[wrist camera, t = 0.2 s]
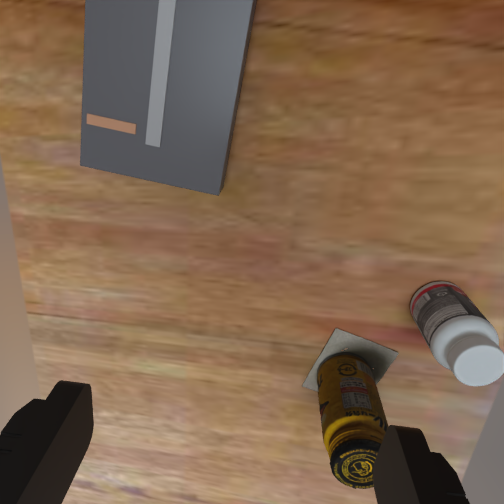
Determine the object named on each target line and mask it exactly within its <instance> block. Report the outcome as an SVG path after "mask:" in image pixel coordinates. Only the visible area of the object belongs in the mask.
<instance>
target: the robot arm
mask: <svg viewBox="0 0 504 504" xmlns="http://www.w3.org/2000/svg"><path fill="white" fill-rule="evenodd" d="M93 426H94V422H93V407H92V392H91V386H90V384H85V383H78V382H70V381H63V380H61V381H59V382H58V383H57V384H56V385H55V387H54V388H53V390H52V391H51V393H50V394H49V396H48V397H47V399H46V400H42V399H33V400H32V401H30V402H29V403H28V404H26V405H25V406H24V407H22V408H21V409H20V410H18V411H17V412H16V413H15V414H14V415H13V416H12V418H11V419H10V420H9V422H8V423H7V425H6V426H5V427H4V429H3V430H2V431H1V435H0V504H62V502H63V499H64V497H65V495H66V493H67V491H68V489H69V487H70V485H71V483H72V481H73V478H74V476H75V474H76V472H77V470H78V468H79V466H80V464H81V462H82V460H83V458H84V455H85V453H86V451H87V449H88V447H89V444H90V441H91V438H92V433H93ZM373 483H374V489H375V494H376V498H377V503H378V504H470V503H469V501H468V499H466V497H465V495H466V494H465V492H464V490H463V487H462V485H461V482H460V480H459V478H458V475H457V473H456V472H455V470H454V469H453V468H452V467H451V466H450V464H449V463H448V462H447V461H446V459H445V458H444V457H443V456H442V455H441V453H435V452H430V450H429V447H428V444H427V442H426V439H425V437H424V434H423V433H422V431H421V430H420V429H418V428H410V427H403V426H395V425H390V426H389V427H388V428H387V431H386V433H385V436H384V438H383V441H382V444H381V446H380V449H379V451H378V454H377V457H376V459H375V462H374V467H373Z"/></svg>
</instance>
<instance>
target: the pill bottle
mask: <svg viewBox="0 0 504 504" xmlns="http://www.w3.org/2000/svg"><path fill="white" fill-rule="evenodd" d="M410 311H411V314H412V317H413V319H414V320H415V322H416V324H417V326H418V328H419V330H420V332H421V334H422V335H423V337H424V339H425V341H426V343H427V345H428V346H429V348H430V350H431V352H432V354H433V356H434V357H435V359H436V360H437V361H438V363H440V364H441V365H442V366H444V367H445V368H447V369H450V370H451V371H452V372H453V373H454V375H455V376H456V378H457V379H458V380H459V381H460V382H462V383H464V384H466V385H470V386H483V385H487V384H490V383H492V382H494V381H495V380H497V379H498V378H499V377H500V376H501V375H502V374H503V373H504V353H503V352H502V350H501V349H500V347H499V339H498V335H497V332H496V330H495V329H494V327H493V326H492V325H491V324H490V322H489V321H488V320H487V319H486V318H485V317H484V316H483V314H482V313H481V312H480V311H479V310H478V308H477V307H476V306H475V305H474V304H473V302H472V301H471V300H470V299H469V298H468V296H467V295H466V294H465V293H464V292H463V291H462V290H461V289H460V288H459V287H458V286H456V285H455V284H452V283H449V282H444V281H440V282H432V283H429V284H427V285H425V286H423V287H422V288H420V289H419V290H418V291H417V292H416V293H415V295H414V296H413V298H412V300H411V304H410Z"/></svg>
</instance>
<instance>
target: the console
mask: <svg viewBox="0 0 504 504" xmlns="http://www.w3.org/2000/svg"><path fill="white" fill-rule="evenodd" d="M256 2H257V0H86V2H85V33H84V64H83V95H82V125H81V156H80V166H85V167H89V168H94V169H99V170H103V171H108V172H112V173H117V174H121V175H126V176H131V177H135V178H140V179H144V180H149V181H154V182H158V183H163V184H167V185H172V186H177V187H181V188H186V189H190V190H195V191H199V192H204V193H209V194H213V195H218V196H219V194H220V192H221V190H222V188H223V186H224V180H225V175H226V169H227V164H228V158H229V152H230V147H231V141H232V136H233V130H234V125H235V119H236V113H237V108H238V102H239V97H240V91H241V86H242V80H243V74H244V69H245V63H246V58H247V52H248V46H249V41H250V35H251V30H252V24H253V19H254V13H255V7H256Z"/></svg>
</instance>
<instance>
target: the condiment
mask: <svg viewBox="0 0 504 504" xmlns="http://www.w3.org/2000/svg"><path fill="white" fill-rule="evenodd" d="M345 348H348V349H347V350H344V349H345ZM341 350H344V351H341ZM398 354H399V353H397V352H395V351H392V350H391V349H388V348H386V347H384V346H381V345H378V344H376V343H374V342H371V341H369V340H366V339H364V338H362V337H358V336H355V335H353V334H350V333H348V332H345V331H342V330H339V329H337V328H336V329H335V331H334V332H333V334H332V336H331V337H330V339H329V341H328V343H327V345H326V346H325V348H324V350H323V351H322V353H321V355H320V356H319V358H318V359H317V361H316V363H315V364H314V366H313V368H312V370H311V371H310V373H309V375H308V377H307V378H306V380H305V382H304V383H303V387H306V388H308V389H311V390H314V391H317V392H318V397H319V405H320V414H321V423H322V433H323V440H324V444H325V447H326V450H327V451H328V454H329V457H330V465H331V469H332V473H333V475H334V476H335V477H336V478H337V479H338V480H339V481H340V482H341V483H343V484H345V485H347V486H349V487H353V488H355V489H356V488H363V489H366V488H371V487H374V483H373V467H374V462H375V459H376V457H377V454H378V451H379V449H380V446H381V444H382V441H383V438H384V436H385V433H386V431H387V428H388V423H387V420H386V417H385V414H384V410H383V407H382V403H381V400H380V397H379V393H378V390H377V387H376V384H377V383H378V382H379V381H380V379H381V378H382V377H383V375H384V374H385V372H386V371H387V369H388V368H389V366H390V365H391V364H392V362H393V361H394V360H395V358H396V357H397V355H398ZM372 368H374V369H372Z"/></svg>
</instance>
